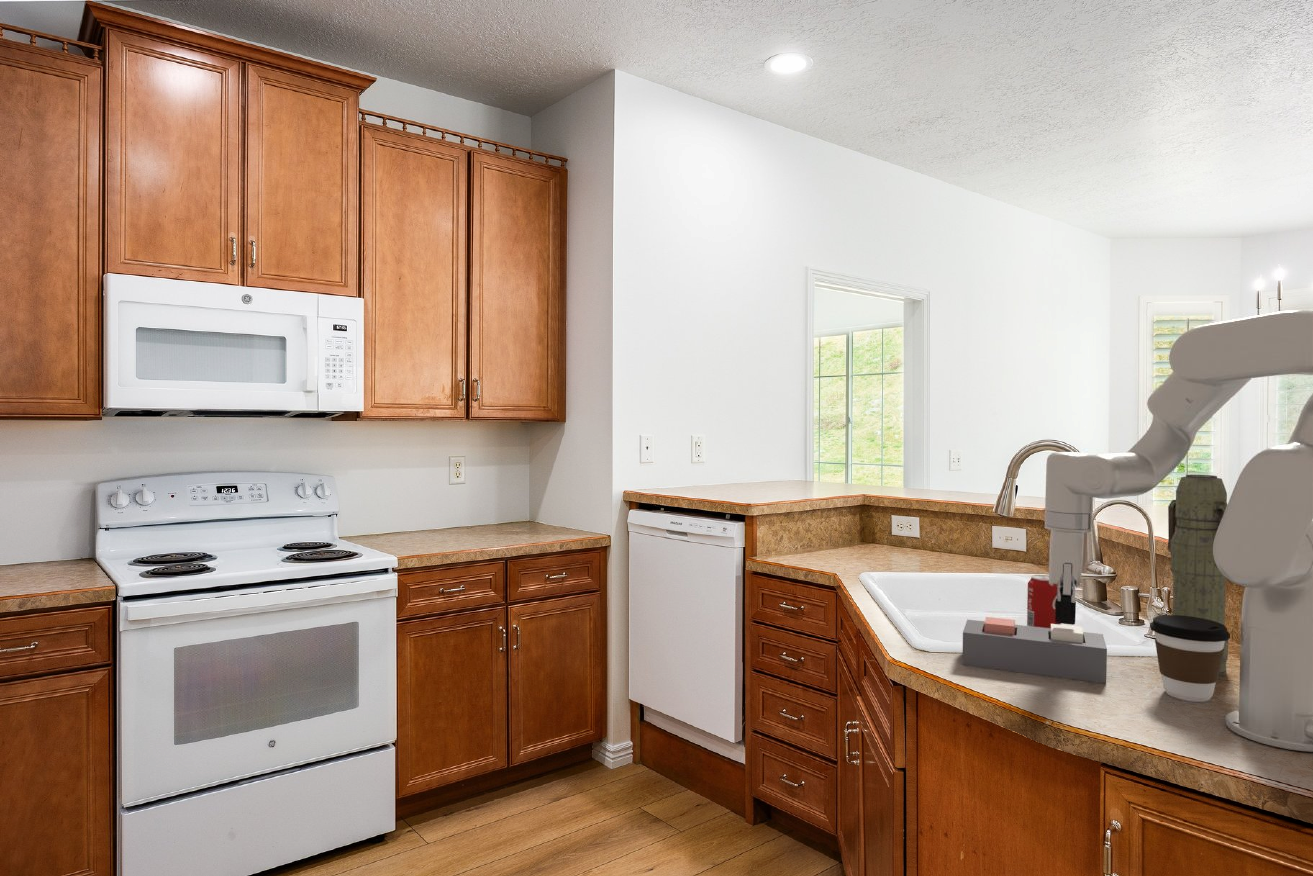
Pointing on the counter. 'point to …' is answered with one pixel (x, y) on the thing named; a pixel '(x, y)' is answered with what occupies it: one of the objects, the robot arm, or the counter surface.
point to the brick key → (999, 626)
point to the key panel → (1035, 652)
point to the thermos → (1197, 550)
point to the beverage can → (1041, 602)
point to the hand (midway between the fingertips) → (1064, 622)
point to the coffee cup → (1189, 655)
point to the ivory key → (1066, 633)
